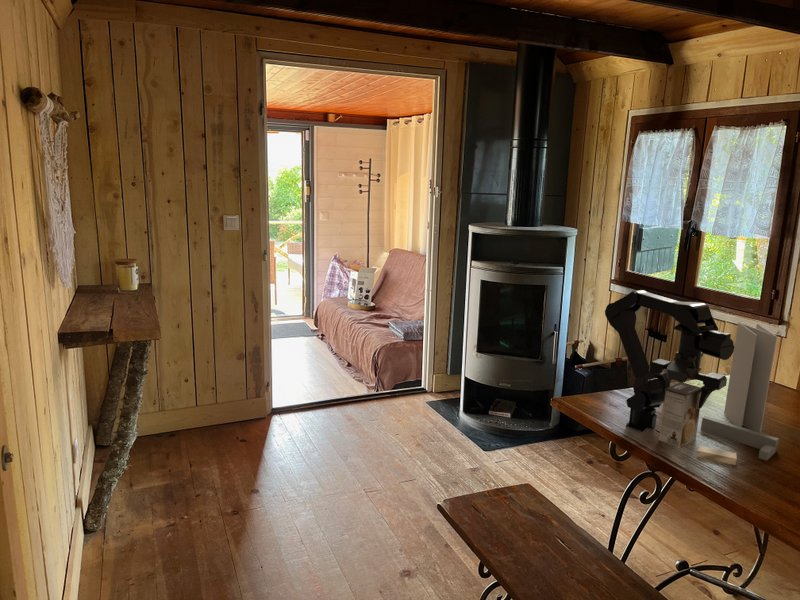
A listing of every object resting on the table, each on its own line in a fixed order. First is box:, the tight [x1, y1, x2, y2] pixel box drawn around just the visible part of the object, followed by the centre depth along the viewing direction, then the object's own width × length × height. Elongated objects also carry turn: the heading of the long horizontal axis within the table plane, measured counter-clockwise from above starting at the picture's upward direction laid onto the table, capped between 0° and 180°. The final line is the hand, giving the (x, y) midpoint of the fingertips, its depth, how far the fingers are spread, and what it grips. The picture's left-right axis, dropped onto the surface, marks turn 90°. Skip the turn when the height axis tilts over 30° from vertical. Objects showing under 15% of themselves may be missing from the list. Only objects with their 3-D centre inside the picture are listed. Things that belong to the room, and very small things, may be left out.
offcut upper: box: [696, 445, 738, 466], centre depth 153 cm, size 9×4×2 cm, turn 62°
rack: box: [700, 415, 780, 462], centre depth 162 cm, size 19×8×5 cm, turn 42°
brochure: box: [723, 322, 778, 433], centre depth 174 cm, size 14×6×30 cm, turn 168°
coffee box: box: [658, 382, 702, 449], centre depth 162 cm, size 9×6×16 cm
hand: (682, 402), depth 161 cm, fingers open, 9 cm apart
